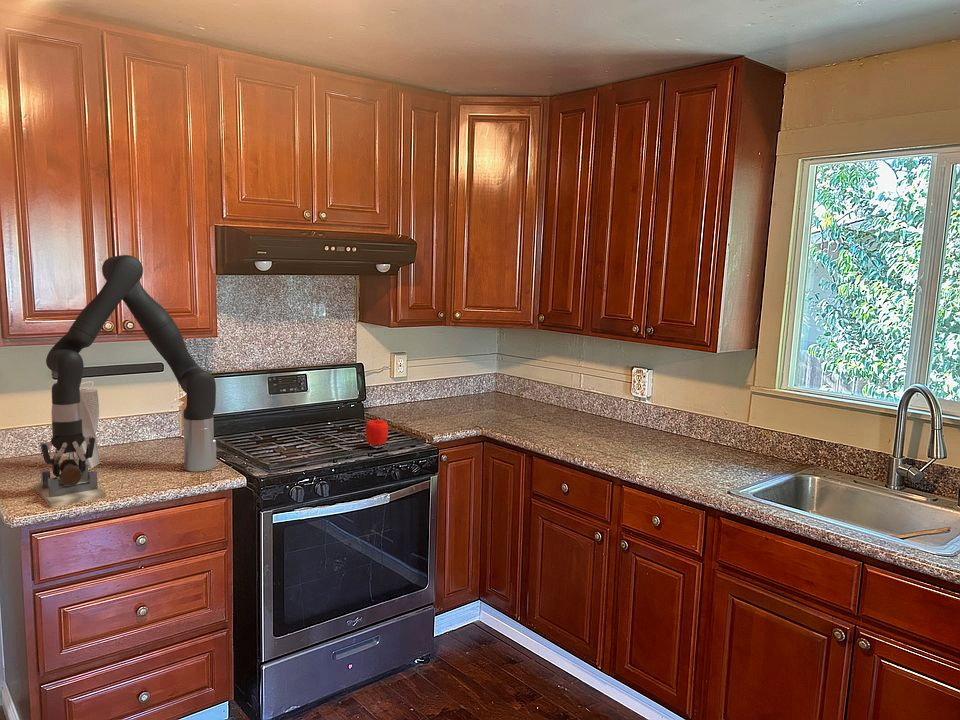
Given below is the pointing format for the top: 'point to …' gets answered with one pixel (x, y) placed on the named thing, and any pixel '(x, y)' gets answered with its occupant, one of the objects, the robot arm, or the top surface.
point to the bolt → (70, 472)
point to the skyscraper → (89, 422)
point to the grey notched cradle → (54, 482)
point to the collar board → (68, 496)
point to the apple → (376, 432)
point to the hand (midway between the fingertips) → (69, 474)
